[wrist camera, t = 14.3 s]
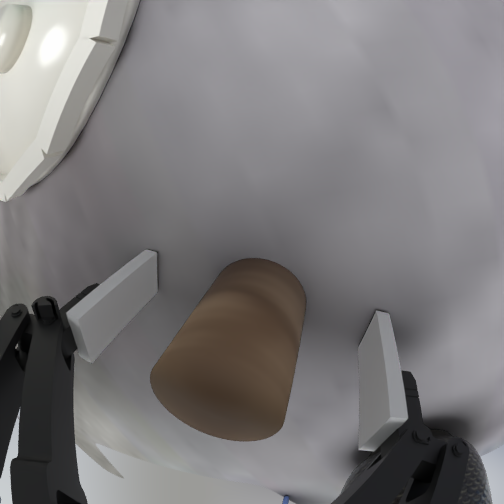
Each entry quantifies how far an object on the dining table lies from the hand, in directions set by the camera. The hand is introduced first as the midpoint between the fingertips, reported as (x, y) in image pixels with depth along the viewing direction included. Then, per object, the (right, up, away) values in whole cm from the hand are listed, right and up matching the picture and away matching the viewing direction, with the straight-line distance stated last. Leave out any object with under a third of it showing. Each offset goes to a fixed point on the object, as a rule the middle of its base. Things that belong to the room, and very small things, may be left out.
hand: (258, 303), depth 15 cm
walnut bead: (0, 0, 0) cm, 0 cm away
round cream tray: (-19, +20, -4) cm, 27 cm away
